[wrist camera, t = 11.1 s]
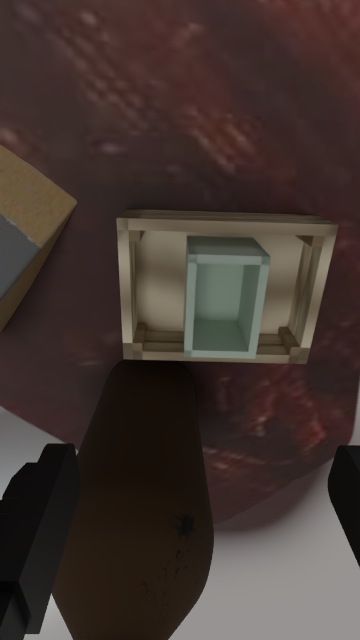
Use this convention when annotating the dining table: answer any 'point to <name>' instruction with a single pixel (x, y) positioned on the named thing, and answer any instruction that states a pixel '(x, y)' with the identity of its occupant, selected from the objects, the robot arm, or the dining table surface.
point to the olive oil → (138, 510)
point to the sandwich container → (26, 227)
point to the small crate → (223, 296)
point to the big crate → (169, 279)
